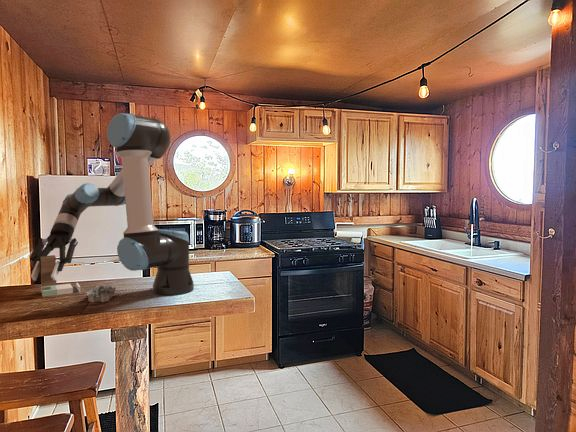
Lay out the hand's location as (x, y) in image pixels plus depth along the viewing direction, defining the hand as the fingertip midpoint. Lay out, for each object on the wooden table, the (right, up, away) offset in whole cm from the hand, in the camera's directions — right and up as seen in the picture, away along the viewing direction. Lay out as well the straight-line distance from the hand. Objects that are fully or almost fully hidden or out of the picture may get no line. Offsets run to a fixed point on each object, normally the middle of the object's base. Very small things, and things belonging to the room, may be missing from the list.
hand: (43, 278), depth 140 cm
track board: (+3, -6, +6) cm, 9 cm away
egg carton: (+21, -7, 0) cm, 22 cm away
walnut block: (0, -3, +4) cm, 5 cm away
